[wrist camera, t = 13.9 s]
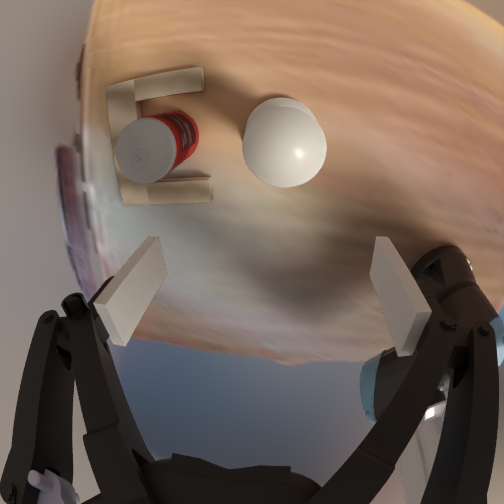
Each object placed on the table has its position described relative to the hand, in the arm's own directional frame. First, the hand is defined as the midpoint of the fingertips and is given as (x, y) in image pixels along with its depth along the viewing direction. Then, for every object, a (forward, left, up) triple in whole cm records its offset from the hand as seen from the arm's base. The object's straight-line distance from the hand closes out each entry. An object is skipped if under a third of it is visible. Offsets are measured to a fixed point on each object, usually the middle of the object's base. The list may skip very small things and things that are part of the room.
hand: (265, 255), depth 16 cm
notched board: (+4, +17, -26) cm, 31 cm away
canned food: (+4, +14, -26) cm, 30 cm away
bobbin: (+4, -1, -26) cm, 26 cm away
